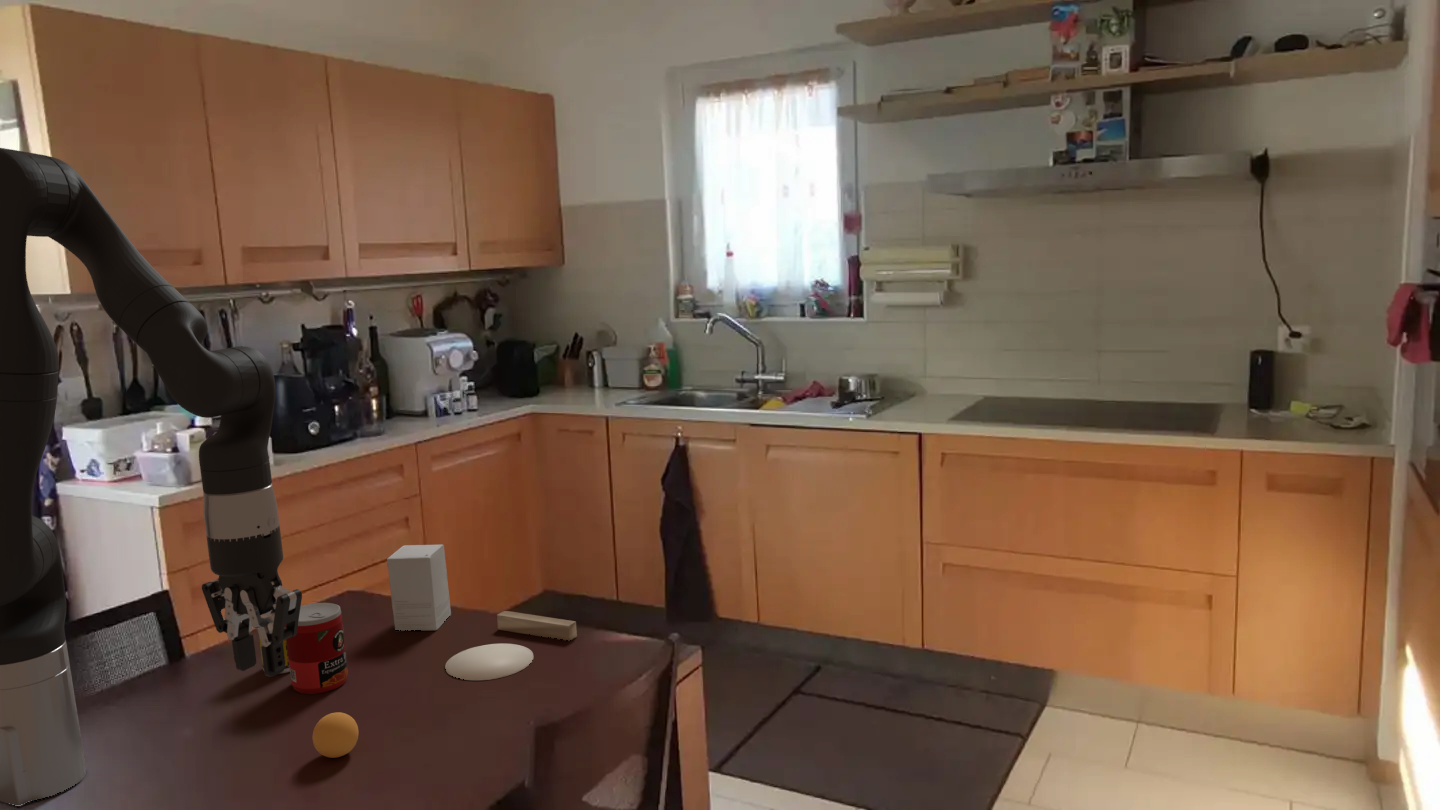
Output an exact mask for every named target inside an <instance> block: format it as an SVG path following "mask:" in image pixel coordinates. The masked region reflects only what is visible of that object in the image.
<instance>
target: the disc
mask: <svg viewBox="0 0 1440 810" xmlns="http://www.w3.org/2000/svg"><path fill="white" fill-rule="evenodd" d="M532 660H533V661H534V653H533V651H532V650H531V649H530V648H528V647H526V646H523V645H519V644H514V643H490V644H485V645H479V646H474V647H470V648H467V649H464V650H462V651H460V652H457V654H454V655H453V656H451V657H450V658H449V659H448V660H447V661H446V663H445V666H444V667H445V669H446V670H445V672H446V673H447V674H448V675H449V676H450V677H452V676H453V678H455V677H456V679H458V678H460V680H463V679H464V681H490V680H496V679H499V678H505V677H508V676H511V675H514V674H516V673H519V672H520V671H523V670H524V669H526V668H527V667H529V666H530V665H531V664H530V663H532V662H533V661H532ZM529 664H530V665H529Z"/></svg>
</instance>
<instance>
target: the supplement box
mask: <svg viewBox="0 0 1440 810" xmlns="http://www.w3.org/2000/svg"><path fill="white" fill-rule="evenodd" d="M386 563H387V570H388V571H387V572H388V579H389V587H390V596H391V598H390V599H391V607H392V614H393V622H394V623H393V624H394V629H395V630H399V631H398V632H404V631H405V630H406V631H405V632H409V631H411V630H414V631H415V630H421V631H437V630H439V628H440V627H441V626H442V625H443V624H444V623H445V622H446V621H447V620H448V619H449V618H450V617H451V616H452V611H451V610H452V609H451V601H450V593H449V591H450V590H449V583H448V582H449V581H448V571H447V561H446V552H445V545H444V544H441V543H440V544H412V545H411V544H408V545H407V544H405V545H402V546H401V547H400V548H398V549H397V550H396V551H395V552H394V553H392V554H391V555H390V556H388V558H387V557H386ZM449 616H450V617H449ZM448 617H449V618H448ZM447 618H448V619H447ZM446 619H447V620H446ZM444 621H445V622H444ZM395 630H394V631H395ZM400 630H401V631H400ZM407 630H408V631H407Z"/></svg>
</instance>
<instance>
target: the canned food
mask: <svg viewBox="0 0 1440 810" xmlns="http://www.w3.org/2000/svg"><path fill="white" fill-rule="evenodd" d="M286 626H287V624H286V625H285V627H284V628H286ZM286 644H287V652H288V660H289V668H290V672H289V674H290V682H291V686H292V687H293V690H294V691H296V692H297V693H300V694H306V695H307V694H308V695H314V694H322V693H327V692H331V691H333V690H336V689H338V688H339V687H342V686H343V685H344V684H345V683H346V682H347V679H348V676H349V672H348V671H349V670H348V661H347V660H348V659H347V651H346V641H345V632H344V623H343V614H342V610H341V606H340V605H338V604H336V603H331V602H313V603H308V604H303V605H301V607H300V614H299V621H298V628H297V634H296V635H295V636H293V637H290V638H288V639H286ZM330 690H331V691H330Z"/></svg>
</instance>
